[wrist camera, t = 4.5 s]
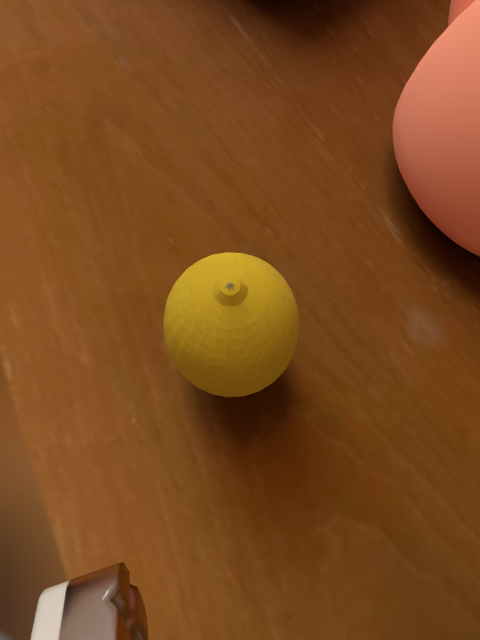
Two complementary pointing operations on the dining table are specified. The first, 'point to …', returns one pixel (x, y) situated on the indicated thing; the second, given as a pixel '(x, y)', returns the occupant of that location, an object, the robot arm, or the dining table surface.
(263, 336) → the lemon
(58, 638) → the robot arm
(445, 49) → the teapot
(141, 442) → the dining table surface
